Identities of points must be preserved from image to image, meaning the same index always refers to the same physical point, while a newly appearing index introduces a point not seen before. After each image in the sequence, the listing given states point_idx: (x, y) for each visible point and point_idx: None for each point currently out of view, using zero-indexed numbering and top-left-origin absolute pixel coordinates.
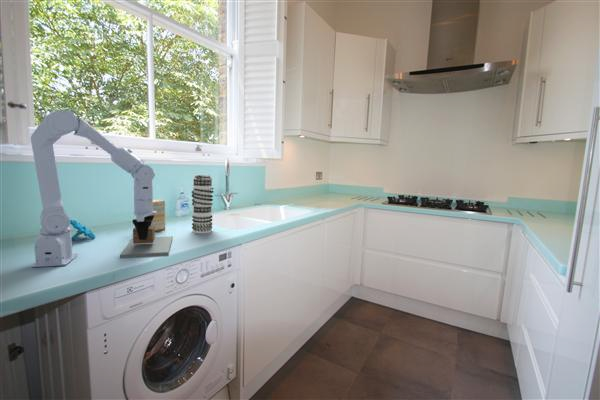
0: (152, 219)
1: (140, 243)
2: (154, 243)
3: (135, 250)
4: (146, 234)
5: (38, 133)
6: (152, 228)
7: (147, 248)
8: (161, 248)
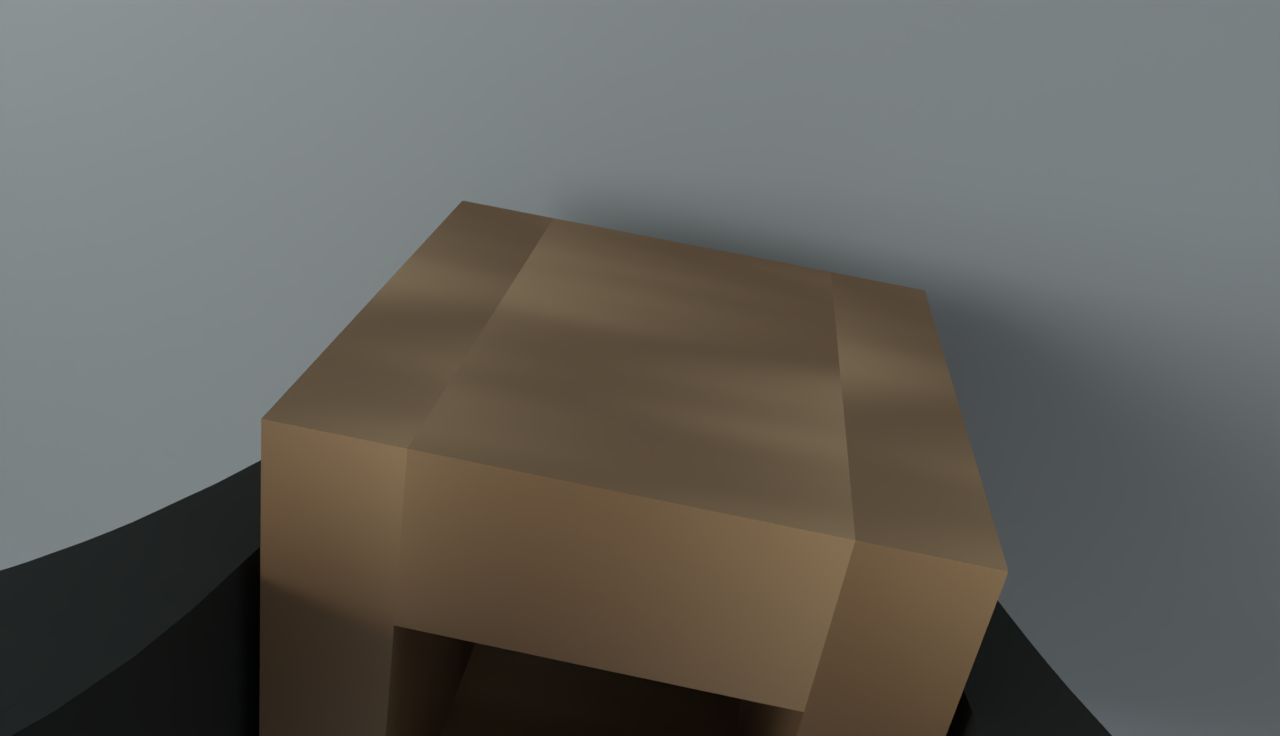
0: (27, 718)
1: None
2: (618, 183)
3: (1107, 635)
4: (1021, 643)
5: None
6: (910, 561)
7: (1063, 390)
8: (1278, 28)
